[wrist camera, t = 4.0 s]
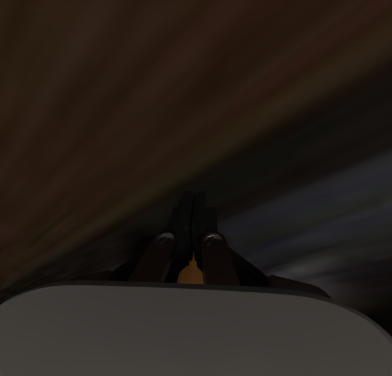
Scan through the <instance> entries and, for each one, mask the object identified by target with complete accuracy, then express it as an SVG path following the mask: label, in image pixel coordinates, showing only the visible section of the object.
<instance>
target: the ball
mask: <svg viewBox="0 0 392 376" xmlns="http://www.w3.org/2000/svg"><path fill="white" fill-rule="evenodd" d="M180 283H187V284H204V282H203V273H202V272H201V271H200V270H199V268H198V267H197V263H196V261H195V259H194V251H193V260H192V261H190V262H189V266H187V267H185V268H184V269H183V270H182V276H181V280H180Z"/></svg>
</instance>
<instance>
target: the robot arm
mask: <svg viewBox="0 0 392 376" xmlns="http://www.w3.org/2000/svg"><path fill="white" fill-rule="evenodd" d="M193 251H194V259H195V261H196V263H197V267H198V268H199V270H200V271H201V272H202V273H203V282H204V284H187V283H180V280H181V276H182V270H183V269H184V268H185V267H187V266H189V262H190V261H192V260H193ZM0 376H392V337H391V336H390V335H389V334H388V333H387V332H386V331H385V330H384V329H383V328H382V327H380V326H379V325H378V324H377V323H376V322H374V321H373V320H372V319H370V318H369V317H367V316H366V315H364V314H363V313H361V312H359V311H357V310H355V309H353V308H351V307H349V306H347V305H345V304H343V303H340V302H338V301H336V300H333V299H331V297H330V296H329V295H328V294H327V293H326V292H325V291H323V290H322V289H320V288H319V287H316V286H314V285H310V284H306V283H302V282H298V281H294V280H290V279H286V278H282V277H278V276H274V275H271V276H266V275H264V274H263V273H262V272H261V271H260V270H259V269H257V268H256V267H255V266H253V265H252V264H251V263H249V262H248V261H247V260H245V259H244V258H243V257H241V256H240V255H239V254H237V253H236V252H235V251H233V250H232V249H231V248H229V247H228V245H227V242H226V239H225V237H224V236H223V235H222V234H221V233H219V232H218V229H217V217H216V207H206V191H199V192H198V193H196V196H195V198H194V193H192V192H191V191H184V194H183V198H182V201H181V205H180V208H174V209H173V212H172V215H171V218H170V221H169V224H168V227H167V230H166V231H163V232H160V233H158V234H157V235H155V237H154V238H153V239H152V241H151V243H150V244H149V246H148V248H147V249H146V250H145V251H143V252H142V253H140V254H138V255H137V256H135V257H134V258H132V259H130V260H129V261H127V262H126V263H124V264H122V265H121V266H119V267H118V268H116V269H115V270H114V271H111V270H106V271H101V272H96V273H91V274H86V275H81V276H76V277H73V278H71V279H69V280H68V281H63V282H56V283H52V284H47V285H43V286H40V287H37V288H33V289H30V290H28V291H25V292H23V293H20V294H18V295H16V296H14V297H12V298H10V299H9V300H7V301H5V302H4V303H3V304H1V305H0Z"/></svg>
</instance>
